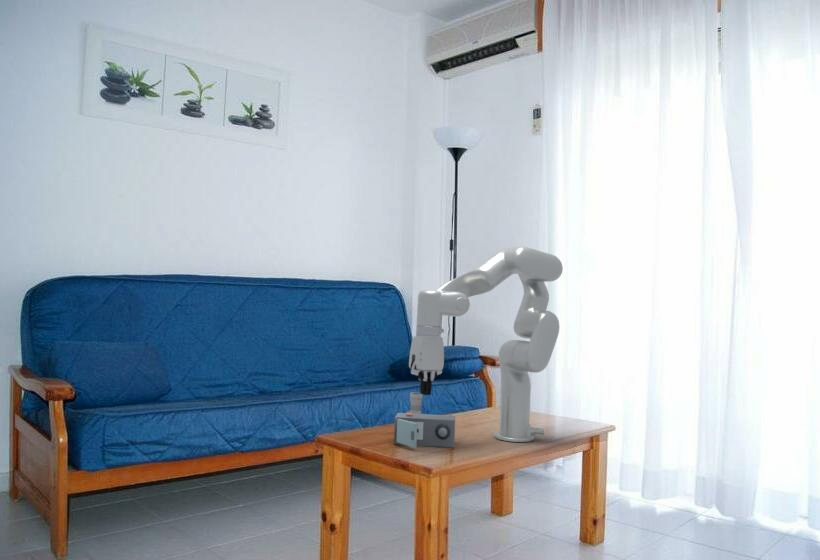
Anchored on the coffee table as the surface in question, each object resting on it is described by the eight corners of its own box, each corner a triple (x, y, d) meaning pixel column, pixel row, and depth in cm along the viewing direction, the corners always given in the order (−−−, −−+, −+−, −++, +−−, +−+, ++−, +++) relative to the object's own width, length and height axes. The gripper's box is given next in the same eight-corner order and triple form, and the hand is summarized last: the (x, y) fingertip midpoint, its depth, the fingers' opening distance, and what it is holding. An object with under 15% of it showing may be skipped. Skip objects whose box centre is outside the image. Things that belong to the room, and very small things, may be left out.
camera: (420, 391, 225) (448, 398, 213) (419, 425, 225) (446, 434, 213) (400, 392, 220) (427, 399, 208) (398, 427, 220) (425, 436, 207)
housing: (454, 441, 200) (455, 413, 200) (453, 448, 191) (454, 419, 191) (396, 438, 201) (397, 410, 202) (393, 444, 192) (394, 415, 193)
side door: (416, 447, 186) (417, 423, 186) (411, 447, 185) (412, 423, 185) (398, 441, 192) (399, 418, 193) (394, 442, 191) (395, 419, 191)
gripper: (440, 332, 198) (437, 391, 198) (400, 330, 190) (397, 393, 189) (456, 333, 192) (453, 395, 192) (415, 332, 184) (412, 397, 183)
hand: (425, 394), depth 190 cm, fingers closed
